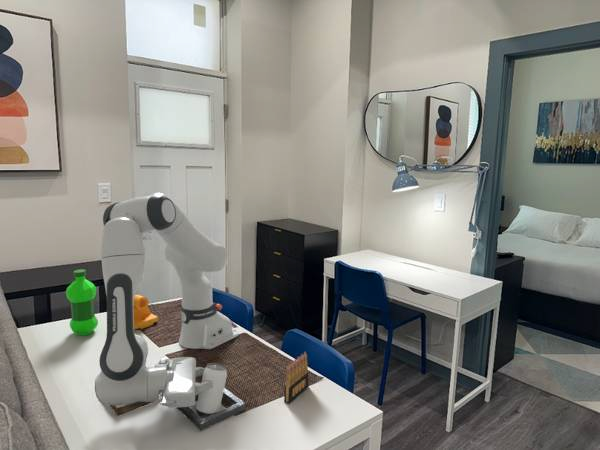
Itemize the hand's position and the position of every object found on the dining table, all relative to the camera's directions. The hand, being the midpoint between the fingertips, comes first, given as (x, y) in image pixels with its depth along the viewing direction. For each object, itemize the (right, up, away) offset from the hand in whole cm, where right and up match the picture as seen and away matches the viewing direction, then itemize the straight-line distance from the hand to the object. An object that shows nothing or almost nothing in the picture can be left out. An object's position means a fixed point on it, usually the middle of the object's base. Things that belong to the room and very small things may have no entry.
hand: (212, 377), depth 119 cm
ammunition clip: (+23, -9, +9) cm, 26 cm away
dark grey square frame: (-1, -9, +2) cm, 9 cm away
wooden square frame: (-25, -8, +5) cm, 27 cm away
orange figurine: (-41, +1, +57) cm, 70 cm away
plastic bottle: (-60, 0, +48) cm, 77 cm away
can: (-1, -9, -1) cm, 9 cm away
